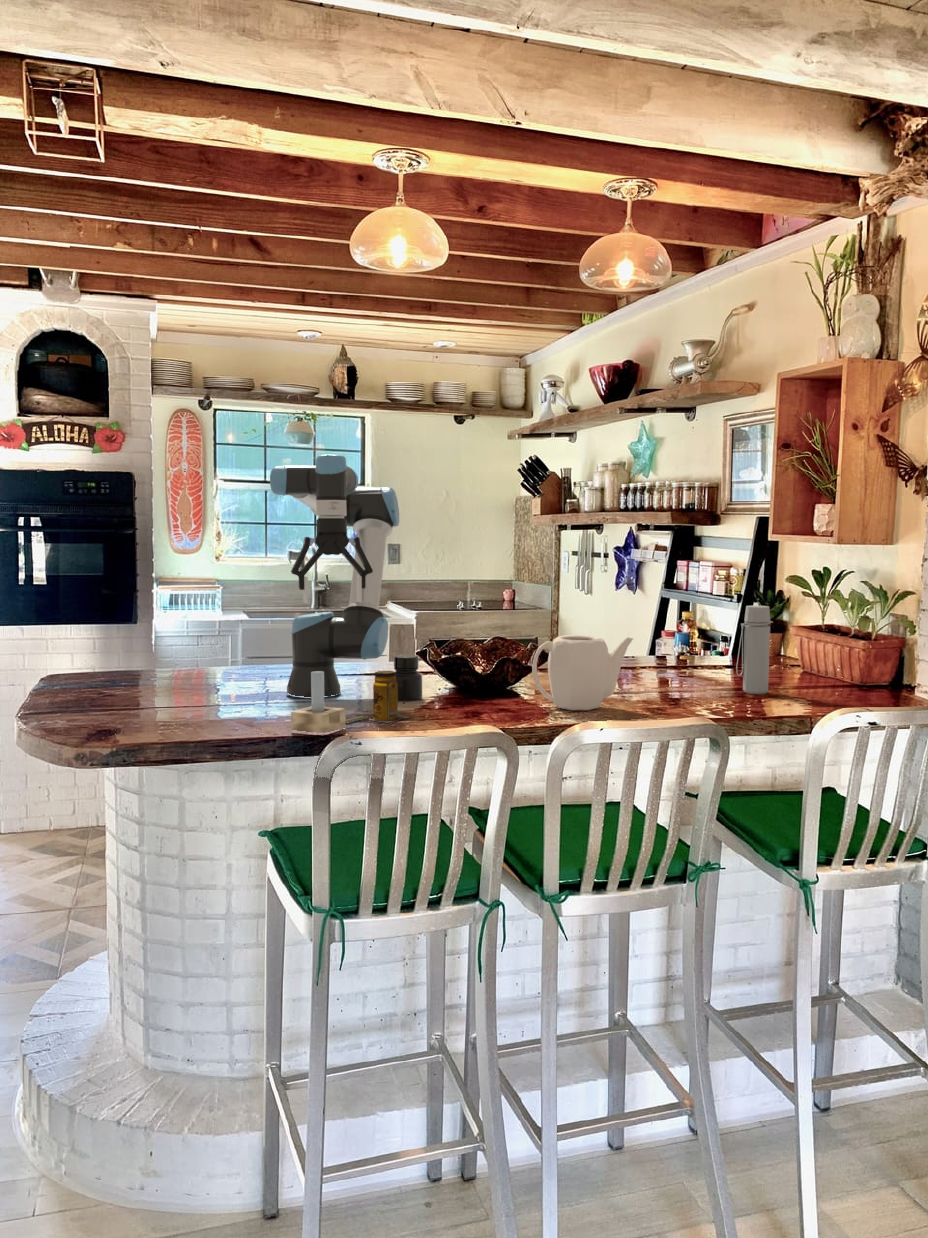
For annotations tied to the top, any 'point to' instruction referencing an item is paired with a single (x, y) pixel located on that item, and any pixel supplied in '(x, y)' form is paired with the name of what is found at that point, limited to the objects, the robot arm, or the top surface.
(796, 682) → the top surface
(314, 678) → the white peg
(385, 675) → the condiment
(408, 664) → the ink bottle
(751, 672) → the water bottle
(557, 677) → the watering can
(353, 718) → the lace
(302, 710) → the tan hollow square block
